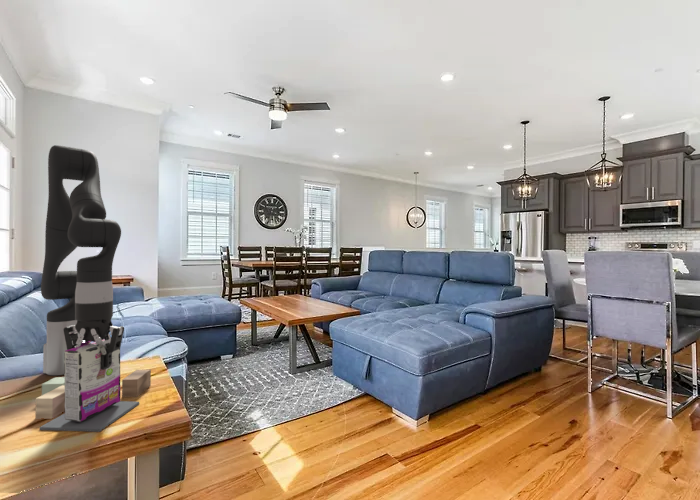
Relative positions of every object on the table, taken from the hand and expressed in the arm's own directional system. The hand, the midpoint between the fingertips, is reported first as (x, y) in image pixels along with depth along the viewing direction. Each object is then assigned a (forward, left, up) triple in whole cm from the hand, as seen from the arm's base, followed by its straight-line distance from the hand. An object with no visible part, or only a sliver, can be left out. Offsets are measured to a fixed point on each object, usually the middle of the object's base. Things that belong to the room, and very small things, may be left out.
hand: (93, 368), depth 86 cm
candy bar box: (0, 0, -11) cm, 11 cm away
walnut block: (+1, +15, -12) cm, 19 cm away
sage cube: (-17, +9, -12) cm, 23 cm away
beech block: (-11, +2, -12) cm, 16 cm away
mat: (0, 0, -12) cm, 12 cm away
